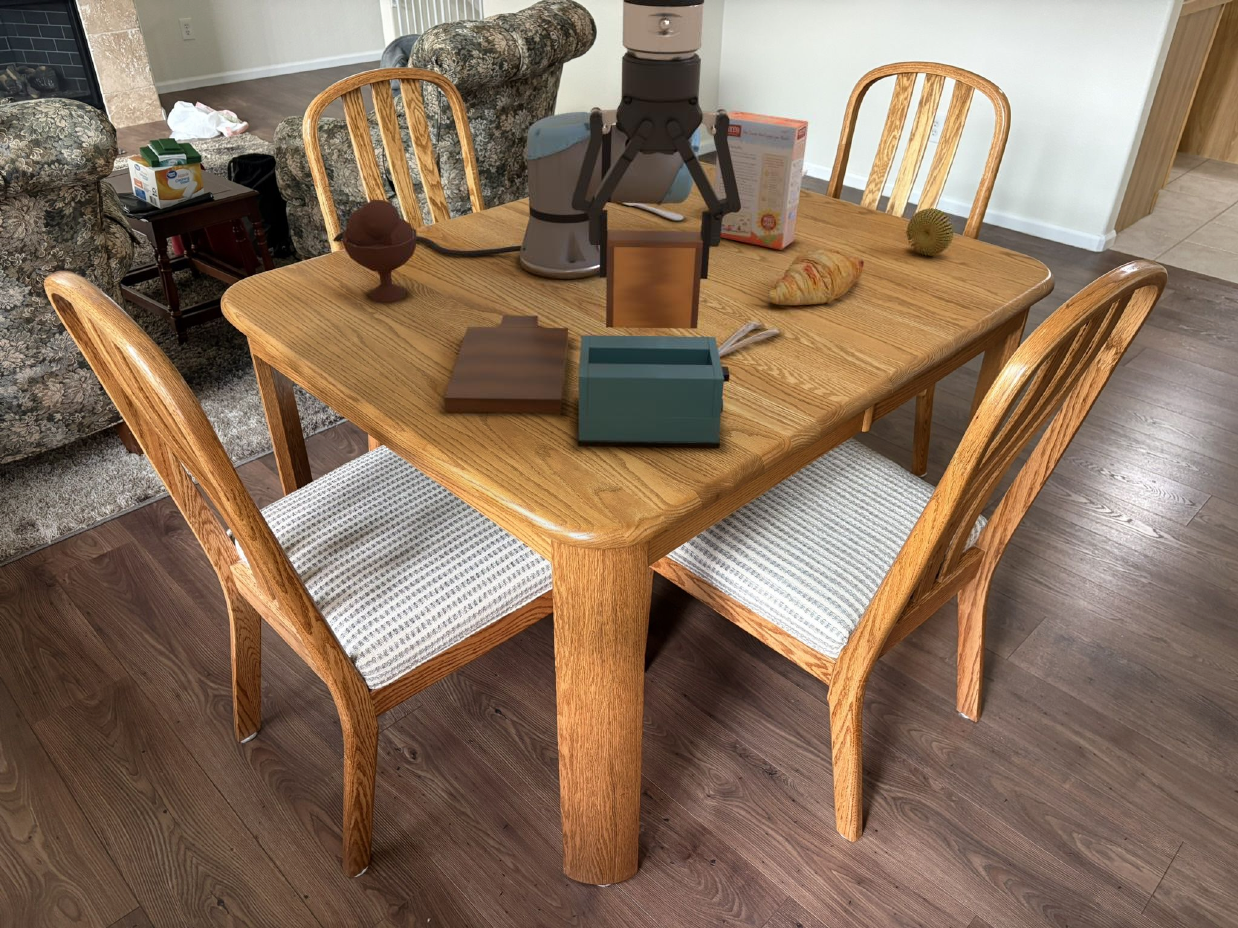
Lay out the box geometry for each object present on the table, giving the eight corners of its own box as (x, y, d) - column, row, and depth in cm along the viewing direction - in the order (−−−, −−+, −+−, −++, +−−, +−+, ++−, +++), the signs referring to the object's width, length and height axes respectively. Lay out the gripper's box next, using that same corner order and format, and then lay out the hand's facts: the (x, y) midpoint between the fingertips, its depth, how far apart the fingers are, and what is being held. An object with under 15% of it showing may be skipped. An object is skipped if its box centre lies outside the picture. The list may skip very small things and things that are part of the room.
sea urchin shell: (951, 257, 156) (962, 212, 152) (941, 263, 154) (951, 217, 149) (909, 246, 160) (918, 201, 156) (898, 251, 158) (907, 206, 154)
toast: (606, 327, 100) (606, 240, 94) (606, 316, 102) (607, 230, 97) (697, 329, 100) (703, 241, 94) (695, 317, 103) (701, 231, 97)
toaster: (577, 446, 104) (576, 377, 99) (580, 400, 113) (579, 334, 108) (728, 448, 104) (735, 379, 99) (719, 401, 113) (725, 336, 108)
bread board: (560, 413, 110) (560, 399, 109) (445, 412, 110) (444, 397, 109) (569, 328, 130) (569, 315, 129) (472, 327, 130) (471, 314, 129)
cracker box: (794, 242, 161) (810, 120, 150) (781, 252, 157) (796, 127, 145) (724, 226, 167) (734, 108, 156) (709, 236, 163) (718, 115, 152)
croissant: (781, 336, 137) (805, 300, 130) (740, 288, 140) (762, 252, 133) (867, 298, 148) (894, 264, 142) (828, 255, 151) (852, 220, 144)
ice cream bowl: (437, 288, 141) (428, 193, 133) (394, 315, 133) (380, 214, 124) (382, 276, 145) (369, 182, 136) (336, 301, 136) (319, 203, 128)
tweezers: (754, 326, 131) (755, 314, 130) (781, 337, 129) (782, 324, 128) (676, 373, 121) (676, 360, 120) (703, 386, 119) (704, 372, 118)
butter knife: (675, 220, 168) (686, 216, 170) (588, 190, 182) (598, 188, 184) (675, 222, 169) (686, 218, 170) (588, 193, 183) (598, 190, 184)
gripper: (539, 57, 82) (546, 285, 95) (787, 61, 83) (761, 289, 95) (544, 43, 88) (550, 259, 101) (775, 47, 89) (753, 262, 101)
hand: (653, 273), depth 98 cm, fingers closed on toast, 10 cm apart
